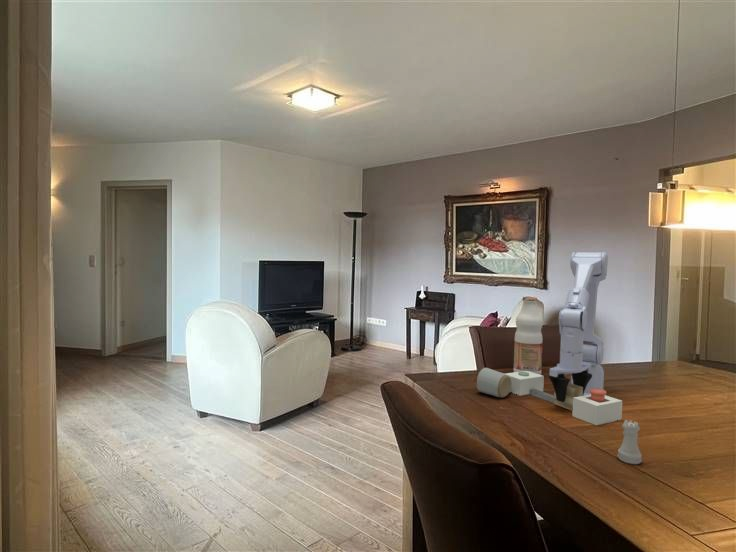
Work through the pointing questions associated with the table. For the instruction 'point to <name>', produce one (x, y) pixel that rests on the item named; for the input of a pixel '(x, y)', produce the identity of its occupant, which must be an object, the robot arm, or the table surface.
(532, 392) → the rail
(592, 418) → the white button housing
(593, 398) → the knob
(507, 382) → the ceramic mug
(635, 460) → the rook chess piece
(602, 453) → the table surface
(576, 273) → the robot arm
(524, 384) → the white button box
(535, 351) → the fruit juice
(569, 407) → the block
